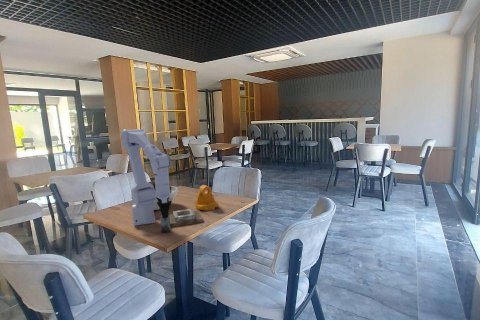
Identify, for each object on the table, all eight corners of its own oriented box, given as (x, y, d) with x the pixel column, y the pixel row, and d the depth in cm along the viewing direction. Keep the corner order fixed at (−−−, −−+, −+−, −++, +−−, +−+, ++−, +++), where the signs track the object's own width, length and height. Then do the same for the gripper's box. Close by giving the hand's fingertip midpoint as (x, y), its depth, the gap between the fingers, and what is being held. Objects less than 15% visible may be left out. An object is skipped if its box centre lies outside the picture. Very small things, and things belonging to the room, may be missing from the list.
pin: (161, 234, 109) (160, 218, 108) (161, 230, 113) (159, 215, 112) (171, 232, 110) (170, 216, 109) (170, 228, 114) (169, 213, 113)
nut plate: (167, 227, 115) (167, 220, 115) (165, 218, 127) (165, 211, 126) (203, 221, 121) (202, 214, 120) (198, 213, 132) (198, 206, 131)
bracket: (200, 211, 135) (198, 189, 133) (195, 208, 141) (194, 186, 139) (218, 207, 140) (217, 186, 138) (213, 204, 146) (212, 183, 144)
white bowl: (141, 219, 127) (138, 189, 124) (125, 207, 146) (123, 181, 144) (187, 207, 142) (185, 180, 140) (167, 198, 161) (166, 174, 159)
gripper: (151, 181, 114) (154, 210, 116) (152, 188, 100) (155, 222, 102) (168, 179, 116) (170, 208, 118) (171, 186, 102) (173, 219, 104)
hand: (164, 214), depth 110 cm, fingers open, 7 cm apart
